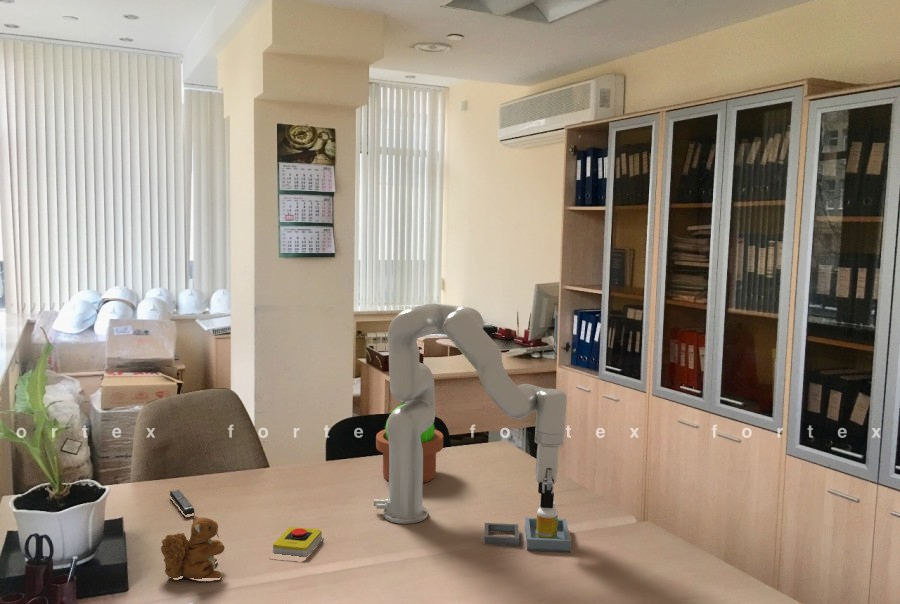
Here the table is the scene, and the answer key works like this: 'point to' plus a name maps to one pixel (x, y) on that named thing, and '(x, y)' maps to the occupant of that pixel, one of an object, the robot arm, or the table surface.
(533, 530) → the tray
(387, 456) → the potted cactus
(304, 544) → the emergency button
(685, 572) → the table surface
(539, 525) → the supplement bottle
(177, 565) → the stuffed squirrel
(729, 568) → the table surface
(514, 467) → the table surface
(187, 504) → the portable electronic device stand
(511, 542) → the cradle
